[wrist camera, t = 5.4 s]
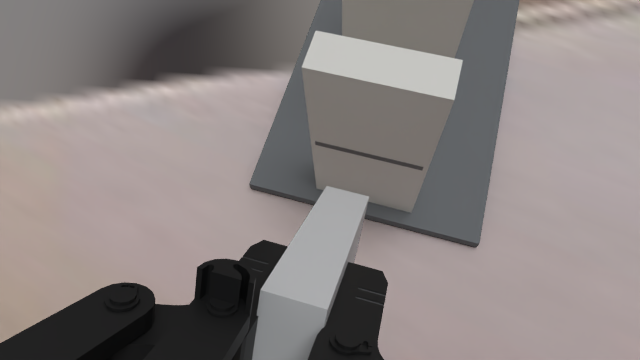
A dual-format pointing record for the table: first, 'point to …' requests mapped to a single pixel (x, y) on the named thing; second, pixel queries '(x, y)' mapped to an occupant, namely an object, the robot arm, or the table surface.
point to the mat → (452, 149)
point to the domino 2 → (375, 115)
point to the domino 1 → (408, 23)
